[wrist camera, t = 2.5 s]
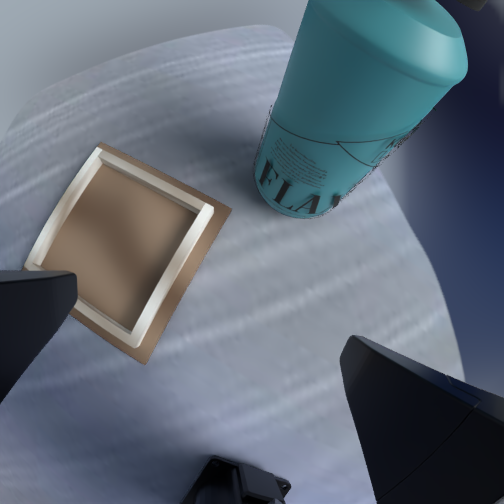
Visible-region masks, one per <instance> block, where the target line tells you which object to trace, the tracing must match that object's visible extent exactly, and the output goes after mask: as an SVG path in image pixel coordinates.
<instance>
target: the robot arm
mask: <svg viewBox="0 0 504 504" xmlns="http://www.w3.org/2000/svg"><path fill="white" fill-rule="evenodd" d="M77 299H78V287H77V275H76V274H75V273H73V272H70V271H66V270H49V271H0V404H1V402H2V401H3V399H4V398H5V397H6V395H7V394H8V393H9V391H10V390H11V388H12V387H13V386H14V384H15V383H16V382H17V380H18V379H19V378H20V376H21V375H22V374H23V373H24V371H25V370H26V369H27V367H28V366H29V365H30V364H31V362H32V361H33V360H34V359H35V357H36V356H37V355H38V354H39V352H40V351H41V350H42V349H43V348H44V346H45V345H46V344H47V343H48V342H49V340H50V339H51V338H52V337H53V336H54V334H55V333H56V332H57V331H58V329H59V328H60V326H61V325H62V323H63V322H64V320H65V319H66V317H67V316H68V314H69V313H70V312H71V310H72V309H73V307H74V306H75V304H76V302H77ZM340 366H341V372H342V377H343V383H344V388H345V393H346V397H347V401H348V404H349V407H350V410H351V414H352V417H353V420H354V423H355V427H356V430H357V434H358V437H359V440H360V444H361V447H362V451H363V454H364V458H365V461H366V465H367V469H368V472H369V476H370V480H371V483H372V487H373V491H374V495H375V499H376V501H377V504H504V398H503V397H500V396H498V395H495V394H493V393H490V392H487V391H485V390H482V389H479V388H477V387H474V386H472V385H469V384H467V383H465V382H462V381H460V380H458V379H455V378H453V377H451V376H449V375H445V374H443V373H441V372H439V371H436V370H434V369H432V368H430V367H427V366H425V365H423V364H421V363H419V362H416V361H414V360H412V359H410V358H408V357H406V356H403V355H401V354H399V353H397V352H395V351H393V350H390V349H388V348H386V347H384V346H382V345H380V344H378V343H375V342H373V341H371V340H369V339H367V338H365V337H363V336H357V335H352V336H350V337H349V339H348V341H347V343H346V345H345V347H344V349H343V351H342V353H341V356H340ZM213 461H217V462H218V464H213V463H212V462H213ZM283 485H286V487H282V486H283ZM290 489H291V484H290V482H289V481H287V480H284V479H281V478H277V477H274V475H273V474H272V473H269V472H266V471H263V470H260V469H257V468H254V467H251V466H248V465H245V464H236V463H233V462H231V461H228V460H226V459H223V458H221V457H218V456H212V457H210V458H209V459H208V461H207V462H206V464H205V466H204V467H203V469H202V470H201V472H200V473H199V475H198V476H197V478H196V480H195V481H194V483H193V484H192V486H191V487H190V489H189V490H188V492H187V493H186V495H185V496H184V498H183V499H182V501H181V502H180V504H286V503H285V501H284V497H285V496H286V494H287V493H288V492H289V490H290Z"/></svg>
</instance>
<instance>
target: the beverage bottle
mask: <svg viewBox="0 0 504 504" xmlns="http://www.w3.org/2000/svg"><path fill="white" fill-rule="evenodd" d="M457 1H458V2H460V3H462V4H464V5H465V6H467V7H469V8H471V9H473V10H476V11H480V10H481V8H482V7H483V6H484V5H485V3H486V2H487V0H457ZM467 67H468V62H467V54H466V50H465V45H464V41H463V37H462V34H461V31H460V29H459V26H458V25H457V23H456V22H455V20H454V19H453V18H452V17H451V15H450V14H449V13H448V12H447V11H446V10H445V9H444V8H443V7H442V6H440V4H439V3H437V2H436V1H435V0H309V1H308V4H307V7H306V10H305V13H304V16H303V19H302V22H301V25H300V28H299V31H298V34H297V37H296V40H295V44H294V47H293V50H292V53H291V56H290V59H289V62H288V65H287V69H286V72H285V75H284V78H283V81H282V85H281V88H280V91H279V94H278V97H277V100H276V102H275V104H274V107H273V110H272V113H271V115H270V120H269V123H268V126H267V129H266V132H265V128H264V132H265V135H264V139H263V142H262V145H261V148H260V146H258V147H259V149H260V152H257V153H258V154H259V155H257V153H256V157H255V158H257V156H258V158H257V161H256V166H255V173H254V174H255V178H256V183H257V186H258V188H257V189H259V190H258V191H260V192H259V193H261V196H262V197H263V198H264V200H265V201H266V202H267V203H268V204H269V205H270V206H271V207H272V208H273V209H275V210H276V211H278V212H280V213H282V214H284V215H287V216H290V217H294V218H300V219H311V217H315V216H319V215H323V213H325V212H327V211H328V210H329V209H330V208H332V207H333V208H334V207H336V206H337V205H338V204H339V201H340V200H341V199H342V197H343V196H345V194H346V193H348V192H349V191H350V190H351V189H352V188H353V187H355V186H356V184H357V183H358V182H359V181H360V180H361V179H362V178H363V177H365V176H366V174H367V173H368V172H369V171H370V170H371V169H372V168H373V169H374V167H375V168H376V167H378V166H377V164H379V163H378V162H379V161H381V159H382V158H383V157H384V156H385V155H386V154H387V153H388V152H389V151H390V150H392V148H393V147H396V144H398V143H399V142H400V141H401V140H402V139H403V140H404V139H405V138H406V137H405V136H406V135H407V134H408V133H409V132H410V131H411V130H412V129H413V130H414V129H415V128H416V127H415V126H416V125H417V124H418V123H419V122H420V121H422V118H424V117H425V116H426V115H427V114H428V113H429V112H430V110H431V109H432V108H433V109H434V110H435V111H436V109H435V108H434V106H435V104H436V103H437V102H438V101H439V100H440V99H441V98H442V97H443V96H444V95H445V94H446V93H447V92H448V91H449V89H450V88H451V87H452V86H453V85H455V84H457V83H459V82H460V81H461V80H462V79H463V78H464V77H465V75H466V73H467ZM271 107H272V105H271ZM269 111H270V109H269ZM269 114H270V112H269ZM268 117H269V116H268ZM267 120H268V119H266V122H267ZM420 123H421V122H420ZM420 123H419V124H420ZM419 124H418V125H417V126H419ZM265 127H266V126H265ZM414 127H415V128H414ZM418 128H419V127H417V128H416V129H418ZM414 131H415V130H414ZM262 133H263V132H262ZM411 135H412V133H411ZM262 137H263V135H262ZM409 137H410V136H408V137H407V138H406V139H408V138H409ZM260 140H262V138H261V139H260ZM403 140H402V142H403ZM404 141H406V140H404ZM402 142H400V143H402ZM400 143H399V144H398V145H400ZM259 145H260V144H259ZM398 148H399V146H398ZM257 151H258V150H257ZM388 156H389V155H388ZM386 158H387V157H386ZM253 165H255V163H254V164H253ZM375 165H376V166H375ZM373 171H374V170H373ZM369 173H370V172H369ZM254 174H253V176H254ZM370 174H371V173H370ZM370 174H369V175H370ZM367 177H368V176H367ZM365 179H366V178H365ZM365 179H364V180H365ZM254 181H255V180H254ZM360 182H363V180H362V181H360ZM256 183H255V184H256ZM359 184H360V183H359ZM257 186H256V187H257ZM356 187H357V186H356ZM354 189H355V188H354ZM354 189H353V190H354ZM353 190H352V191H353ZM350 192H351V191H350ZM348 194H349V193H348ZM348 194H346V195H348ZM343 198H344V197H343ZM341 201H342V200H341ZM330 211H331V209H330ZM327 213H328V212H327ZM320 217H321V216H320ZM316 218H317V217H316Z"/></svg>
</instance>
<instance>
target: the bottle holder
mask: <svg viewBox="0 0 504 504" xmlns="http://www.w3.org/2000/svg"><path fill="white" fill-rule="evenodd" d="M231 211H232V208H230V207H228V206H226V205H224V204H222V203H220V202H218V201H217V200H215V199H213V198H211V197H209V196H207V195H205V194H203V193H201V192H199V191H197V190H196V189H194V188H192V187H190V186H188V185H186V184H184V183H182V182H180V181H178V180H176V179H174V178H172V177H170V176H168V175H166V174H164V173H162V172H161V171H159V170H157V169H155V168H153V167H151V166H149V165H147V164H145V163H143V162H141V161H139V160H137V159H135V158H133V157H131V156H129V155H127V154H125V153H123V152H121V151H119V150H117V149H114V148H112V147H110V146H108V145H106V144H104V143H102V142H100V144H99V145H98V146H97V147H96V149H95V150H94V151H93V153H92V154H91V155H90V157H89V158H88V160H87V161H86V162H85V164H84V165H83V166H82V168H81V169H80V171H79V172H78V174H77V175H76V176H75V178H74V179H73V181H72V182H71V184H70V185H69V187H68V188H67V190H66V191H65V193H64V195H63V196H62V198H61V199H60V201H59V202H58V204H57V206H56V207H55V209H54V211H53V212H52V214H51V216H50V217H49V219H48V221H47V222H46V224H45V226H44V228H43V230H42V231H41V233H40V235H39V237H38V239H37V241H36V242H35V244H34V246H33V248H32V250H31V252H30V254H29V256H28V258H27V260H26V262H25V264H24V266H23V268H22V270H21V271H49V270H66V271H70V272H73V273H75V274H76V275H77V287H78V299H77V302H76V304H75V306H74V307H73V309H72V310H71V312H70V313H69V314H70V315H72V316H73V317H74V318H76V319H77V320H78V321H80V322H81V323H82V324H84V325H85V326H86V327H88V328H89V329H91V330H92V331H93V332H95V333H96V334H98V335H99V336H100V337H102V338H103V339H105V340H106V341H108V342H109V343H111V344H112V345H114V346H115V347H117V348H118V349H120V350H121V351H123V352H124V353H126V354H128V355H129V356H131V357H132V358H134V359H136V360H137V361H139V362H140V363H142V364H144V365H146V363H147V362H148V360H149V358H150V356H151V354H152V352H153V350H154V348H155V346H156V344H157V342H158V341H159V339H160V337H161V335H162V333H163V331H164V329H165V327H166V326H167V324H168V322H169V320H170V318H171V316H172V314H173V313H174V311H175V309H176V307H177V305H178V303H179V302H180V300H181V298H182V296H183V294H184V293H185V291H186V289H187V287H188V285H189V284H190V282H191V280H192V278H193V276H194V275H195V273H196V271H197V269H198V268H199V266H200V264H201V262H202V261H203V259H204V257H205V255H206V254H207V252H208V250H209V248H210V247H211V245H212V243H213V241H214V240H215V238H216V236H217V234H218V233H219V231H220V229H221V228H222V226H223V224H224V222H225V221H226V219H227V217H228V216H229V214H230V212H231Z"/></svg>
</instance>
